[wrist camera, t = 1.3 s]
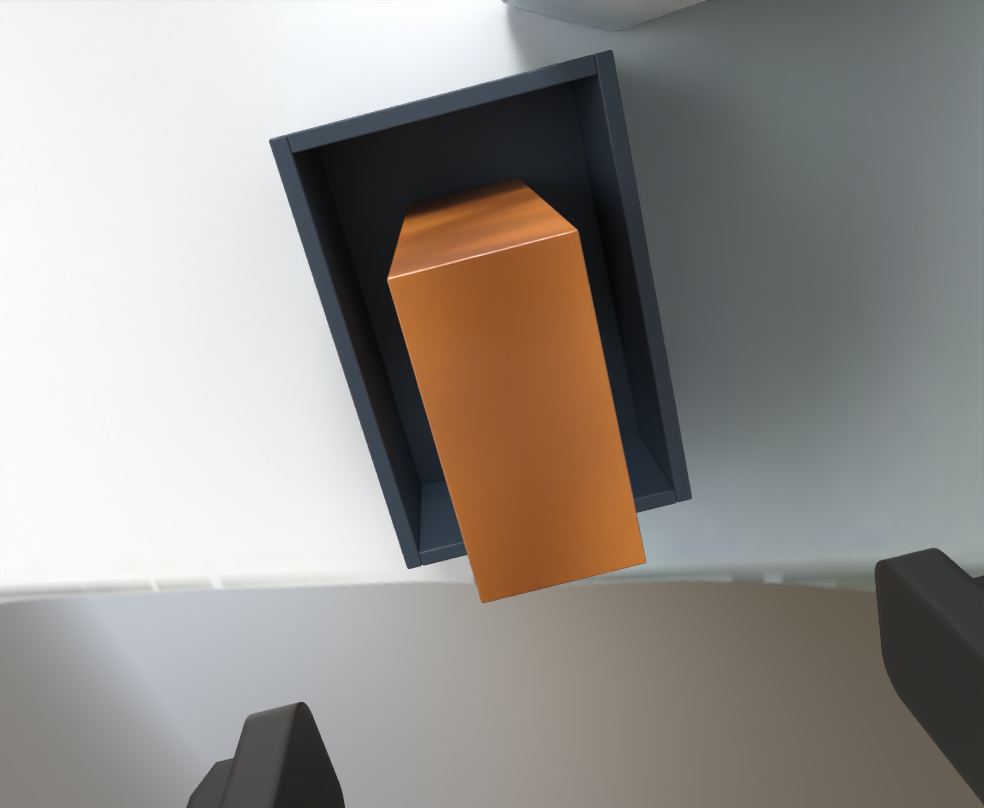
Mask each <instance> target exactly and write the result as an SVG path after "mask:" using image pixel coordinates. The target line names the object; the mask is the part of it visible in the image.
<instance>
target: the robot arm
mask: <svg viewBox="0 0 984 808" xmlns="http://www.w3.org/2000/svg"><path fill="white" fill-rule="evenodd" d="M875 584H876V594H877V605H878V614H879V625H880V637H881V647H882V655H883V660H884V664H885V667H886V670H887V673H888V676H889V678H890V681H891V682H892V685H893V687H894V689H895V690H896V692H897V694H898V696H899V697H900V699H901V700H902V701H903V703H904V704H905V705H906V707H907V708H908V709H909V710H910V712H911V713H912V714H913V716H914V717H915V718H916V719H917V721H918V722H919V723H920V724H921V726H922V727H923V728H924V729H925V731H926V732H927V733H928V734H929V736H930V737H931V738H932V739H933V741H934V742H935V743H936V744H937V746H938V747H939V748H940V750H941V751H942V752H943V753H944V755H945V756H946V757H947V759H948V760H949V761H950V762H951V764H952V765H953V766H954V768H955V769H956V770H957V771H958V773H959V774H960V775H961V776H962V778H963V779H964V780H965V781H966V783H967V784H968V785H969V786H970V788H971V789H972V790H973V792H974V793H975V794H976V795H977V797H978V798H979V799H980V800H981V802H982V803H983V804H984V576H980V577H976V578H972V577H971V576H970V575H968V574H967V573H966V572H965V571H964V570H963V569H962V568H960V567H959V566H958V565H957V564H956V563H955V562H954V561H952V560H951V559H950V558H949V557H948V556H947V555H946V554H944V553H943V552H942V551H941V550H939V549H937V548H930V549H926V550H922V551H918V552H914V553H910V554H905V555H901V556H897V557H893V558H889V559H885V560H881V561H879V562H877V564H876V567H875ZM187 808H345V804H344V799H343V794H342V790H341V787H340V783H339V781H338V778H337V776H336V773H335V771H334V768H333V766H332V763H331V761H330V758H329V756H328V753H327V751H326V748H325V746H324V743H323V741H322V738H321V735H320V733H319V731H318V728H317V726H316V723H315V720H314V718H313V715H312V713H311V711H310V709H309V708H308V706H307V705H306V704H305V703H304V702H299V703H295V704H291V705H287V706H282V707H278V708H274V709H271V710H266V711H263V712H258V713H254V714H251V715H249V716H248V717H247V719H246V721H245V723H244V726H243V730H242V733H241V736H240V739H239V743H238V746H237V749H236V752H235V756H234V758H232V759H228V760H224V761H220V762H216V763H215V765H214V766H213V767H212V768H211V770H210V771H209V772H208V774H207V775H206V776H205V778H204V779H203V781H202V782H201V783H200V784H199V786H198V787H197V788H196V790H195V791H194V792H193V793H192V795H191V796H190V799H189V802H188V805H187Z"/></svg>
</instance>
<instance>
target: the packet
mask: <svg viewBox="0 0 984 808" xmlns="http://www.w3.org/2000/svg"><path fill="white" fill-rule="evenodd" d="M387 281H388V284H389V287H390V291H391V294H392V298H393V301H394V305H395V308H396V311H397V315H398V318H399V322H400V325H401V328H402V332H403V335H404V339H405V342H406V346H407V349H408V352H409V356H410V359H411V363H412V366H413V370H414V373H415V376H416V380H417V383H418V387H419V390H420V393H421V397H422V400H423V404H424V407H425V411H426V414H427V417H428V421H429V424H430V428H431V431H432V435H433V438H434V441H435V445H436V448H437V452H438V455H439V458H440V462H441V465H442V469H443V472H444V476H445V479H446V482H447V486H448V489H449V493H450V496H451V500H452V503H453V506H454V510H455V513H456V517H457V520H458V523H459V527H460V530H461V534H462V537H463V541H464V544H465V547H466V551H467V554H468V558H469V561H470V564H471V568H472V571H473V575H474V578H475V582H476V585H477V588H478V592H479V595H480V599H481V602H482V603H486V602H490V601H494V600H498V599H502V598H506V597H510V596H515V595H518V594H522V593H526V592H531V591H535V590H539V589H543V588H547V587H551V586H555V585H559V584H563V583H567V582H571V581H575V580H579V579H583V578H587V577H591V576H596V575H600V574H604V573H608V572H612V571H616V570H620V569H624V568H628V567H632V566H636V565H640V564H644V563H646V557H645V552H644V548H643V543H642V538H641V533H640V528H639V523H638V518H637V514H636V509H635V504H634V499H633V494H632V489H631V484H630V479H629V475H628V470H627V465H626V460H625V455H624V450H623V445H622V441H621V436H620V431H619V426H618V421H617V416H616V411H615V407H614V402H613V397H612V392H611V387H610V382H609V377H608V373H607V368H606V363H605V358H604V353H603V348H602V343H601V338H600V334H599V329H598V324H597V319H596V314H595V309H594V304H593V300H592V295H591V290H590V285H589V280H588V275H587V270H586V266H585V261H584V256H583V251H582V246H581V241H580V236H579V232H578V230H577V229H576V228H575V227H574V226H573V225H571V224H570V223H569V222H568V221H567V220H566V219H565V218H563V217H562V216H561V215H560V214H559V213H558V212H557V211H555V210H554V209H553V208H552V207H551V206H550V205H549V204H548V203H546V202H545V201H544V200H543V199H542V198H541V197H540V196H538V195H537V194H536V193H535V192H534V191H533V190H532V189H530V188H529V187H528V186H527V185H526V184H525V183H524V182H523V181H521V180H520V179H519V178H518V177H513V178H509V179H505V180H501V181H497V182H494V183H490V184H486V185H482V186H478V187H474V188H470V189H466V190H463V191H459V192H455V193H451V194H447V195H443V196H439V197H436V198H432V199H428V200H424V201H420V202H416V203H412V204H409V205H408V207H407V211H406V214H405V218H404V222H403V225H402V229H401V232H400V236H399V240H398V243H397V247H396V250H395V254H394V257H393V261H392V265H391V268H390V272H389V275H388V280H387Z"/></svg>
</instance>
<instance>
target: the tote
mask: <svg viewBox="0 0 984 808" xmlns="http://www.w3.org/2000/svg"><path fill="white" fill-rule="evenodd" d="M269 143H270V146H271V149H272V152H273V155H274V158H275V161H276V164H277V167H278V170H279V174H280V177H281V180H282V183H283V186H284V189H285V192H286V195H287V198H288V201H289V204H290V207H291V211H292V214H293V217H294V220H295V223H296V226H297V229H298V232H299V235H300V238H301V241H302V245H303V248H304V251H305V254H306V257H307V260H308V263H309V266H310V269H311V272H312V275H313V278H314V282H315V285H316V288H317V291H318V294H319V297H320V300H321V303H322V306H323V309H324V312H325V316H326V319H327V322H328V325H329V328H330V331H331V334H332V337H333V340H334V343H335V346H336V349H337V353H338V356H339V359H340V362H341V365H342V368H343V371H344V374H345V377H346V380H347V383H348V387H349V390H350V393H351V396H352V399H353V402H354V405H355V408H356V411H357V414H358V417H359V420H360V424H361V427H362V430H363V433H364V436H365V439H366V442H367V445H368V448H369V451H370V454H371V458H372V461H373V464H374V467H375V470H376V473H377V476H378V479H379V482H380V485H381V488H382V491H383V495H384V498H385V501H386V504H387V507H388V510H389V513H390V516H391V519H392V522H393V525H394V529H395V532H396V535H397V538H398V541H399V544H400V547H401V550H402V553H403V556H404V559H405V562H406V566H407V568H408V569H411V568H415V567H419V566H422V565H428V564H432V563H436V562H440V561H444V560H448V559H452V558H456V557H460V556H464V555H468V554H467V551H466V547H465V544H464V541H463V537H462V534H461V530H460V527H459V523H458V520H457V517H456V513H455V510H454V506H453V503H452V500H451V496H450V493H449V489H448V486H447V482H446V479H445V476H444V472H443V469H442V465H441V462H440V458H439V455H438V452H437V448H436V445H435V441H434V438H433V435H432V431H431V428H430V424H429V421H428V417H427V414H426V411H425V407H424V404H423V400H422V397H421V393H420V390H419V387H418V383H417V380H416V376H415V373H414V370H413V366H412V363H411V359H410V356H409V352H408V349H407V346H406V342H405V339H404V335H403V332H402V328H401V325H400V322H399V318H398V315H397V311H396V308H395V305H394V301H393V298H392V294H391V291H390V287H389V284H388V281H387V280H388V275H389V272H390V268H391V265H392V261H393V257H394V254H395V250H396V247H397V243H398V240H399V236H400V232H401V229H402V225H403V222H404V218H405V214H406V211H407V207H408V205H409V204H412V203H416V202H420V201H424V200H428V199H432V198H436V197H439V196H443V195H447V194H451V193H455V192H459V191H463V190H466V189H470V188H474V187H478V186H482V185H486V184H490V183H494V182H497V181H501V180H505V179H509V178H513V177H518V178H519V179H520V180H521V181H523V182H524V183H525V184H526V185H527V186H528V187H529V188H530V189H532V190H533V191H534V192H535V193H536V194H537V195H538V196H540V197H541V198H542V199H543V200H544V201H545V202H546V203H548V204H549V205H550V206H551V207H552V208H553V209H554V210H555V211H557V212H558V213H559V214H560V215H561V216H562V217H563V218H565V219H566V220H567V221H568V222H569V223H570V224H571V225H573V226H574V227H575V228H576V229H577V230H578V232H579V236H580V241H581V246H582V251H583V256H584V261H585V266H586V270H587V275H588V280H589V285H590V290H591V295H592V300H593V304H594V309H595V314H596V319H597V324H598V329H599V334H600V338H601V343H602V348H603V353H604V358H605V363H606V368H607V373H608V377H609V382H610V387H611V392H612V397H613V402H614V407H615V411H616V416H617V421H618V426H619V431H620V436H621V441H622V445H623V450H624V455H625V460H626V465H627V470H628V475H629V479H630V484H631V489H632V494H633V499H634V504H635V509H636V513H638V512H642V511H646V510H650V509H654V508H658V507H662V506H666V505H670V504H674V503H676V502H681V501H685V500H689V499H692V495H691V489H690V483H689V478H688V472H687V467H686V461H685V455H684V450H683V444H682V438H681V433H680V427H679V422H678V416H677V410H676V405H675V399H674V393H673V388H672V382H671V377H670V371H669V365H668V360H667V354H666V348H665V343H664V337H663V332H662V326H661V320H660V315H659V309H658V303H657V298H656V292H655V287H654V281H653V275H652V270H651V264H650V258H649V253H648V247H647V242H646V236H645V230H644V225H643V219H642V213H641V208H640V202H639V197H638V191H637V185H636V180H635V174H634V168H633V163H632V157H631V152H630V146H629V140H628V135H627V129H626V123H625V118H624V112H623V107H622V101H621V95H620V90H619V84H618V78H617V73H616V67H615V62H614V56H613V52H612V50H608V51H605V52H601V53H597V54H594V55H589V56H585V57H582V58H578V59H574V60H570V61H566V62H562V63H559V64H555V65H551V66H547V67H543V68H539V69H536V70H532V71H528V72H524V73H520V74H517V75H513V76H509V77H505V78H501V79H497V80H494V81H490V82H486V83H482V84H478V85H474V86H471V87H467V88H463V89H459V90H455V91H452V92H448V93H444V94H440V95H436V96H432V97H429V98H425V99H421V100H417V101H413V102H409V103H406V104H402V105H398V106H394V107H390V108H387V109H383V110H379V111H375V112H371V113H367V114H364V115H360V116H356V117H352V118H348V119H344V120H341V121H337V122H333V123H329V124H325V125H322V126H318V127H314V128H310V129H306V130H302V131H299V132H295V133H291V134H288V135H283V136H279V137H276V138H272V139H270V140H269Z"/></svg>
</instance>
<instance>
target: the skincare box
mask: <svg viewBox="0 0 984 808" xmlns="http://www.w3.org/2000/svg"><path fill="white" fill-rule="evenodd" d="M501 1H502V2H503V3H505V4H507V5H510V6H513V7H517V8H521V9H525V10H528V11H532V12H535V13H539V14H542V15H546V16H550V17H553V18H557V19H561V20H565V21H569V22H574V23H578V24H582V25H586V26H592V27H597V28H603V29H608V30H614V31H622V30H625V29H627V28H630V27H633V26H635V25H638V24H641V23H644V22H647V21H649V20H652V19H655V18H658V17H660V16H663V15H666V14H669V13H672V12H674V11H677V10H680V9H683V8H686V7H689V6H692V5H695V4H698V3H700V2H703V1H706V0H501Z"/></svg>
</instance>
